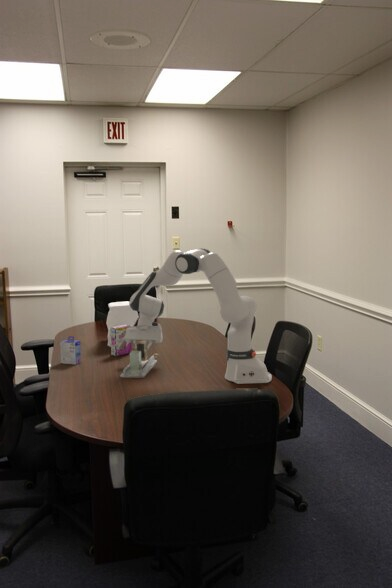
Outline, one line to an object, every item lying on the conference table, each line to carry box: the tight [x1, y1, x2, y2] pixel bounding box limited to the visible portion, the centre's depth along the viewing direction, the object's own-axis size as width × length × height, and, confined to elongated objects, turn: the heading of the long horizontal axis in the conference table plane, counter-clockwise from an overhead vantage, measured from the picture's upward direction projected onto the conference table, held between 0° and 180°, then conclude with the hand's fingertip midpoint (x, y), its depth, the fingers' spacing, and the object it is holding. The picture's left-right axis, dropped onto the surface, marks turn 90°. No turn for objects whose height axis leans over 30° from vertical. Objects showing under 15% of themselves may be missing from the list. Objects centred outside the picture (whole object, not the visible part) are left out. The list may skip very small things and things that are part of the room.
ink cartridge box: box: [59, 335, 82, 365], centre depth 266 cm, size 10×6×14 cm, turn 70°
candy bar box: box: [110, 325, 132, 357], centre depth 282 cm, size 11×5×16 cm, turn 134°
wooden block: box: [135, 340, 149, 361], centre depth 258 cm, size 4×6×10 cm
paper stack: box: [106, 300, 140, 348], centre depth 308 cm, size 21×27×26 cm
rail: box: [119, 350, 158, 379], centre depth 253 cm, size 12×28×11 cm, turn 172°
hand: (141, 348), depth 257 cm, fingers closed on wooden block, 4 cm apart
